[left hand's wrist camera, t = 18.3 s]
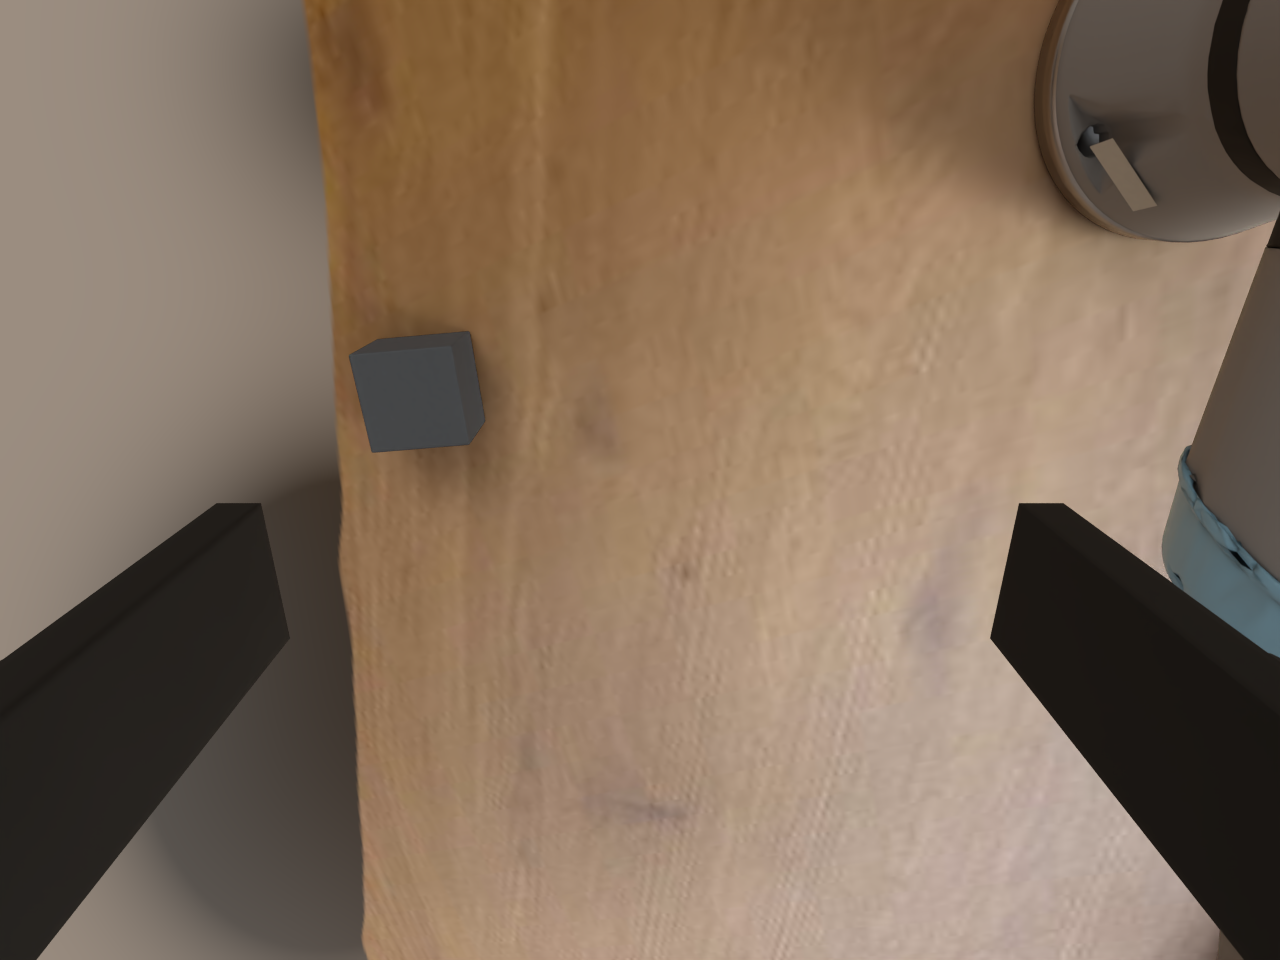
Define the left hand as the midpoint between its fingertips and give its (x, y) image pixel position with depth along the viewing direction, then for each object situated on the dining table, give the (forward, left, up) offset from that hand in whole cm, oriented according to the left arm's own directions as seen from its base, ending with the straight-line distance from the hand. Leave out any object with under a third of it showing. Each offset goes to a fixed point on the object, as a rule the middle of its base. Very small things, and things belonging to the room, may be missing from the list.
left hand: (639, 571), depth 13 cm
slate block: (+6, -10, -27) cm, 29 cm away
